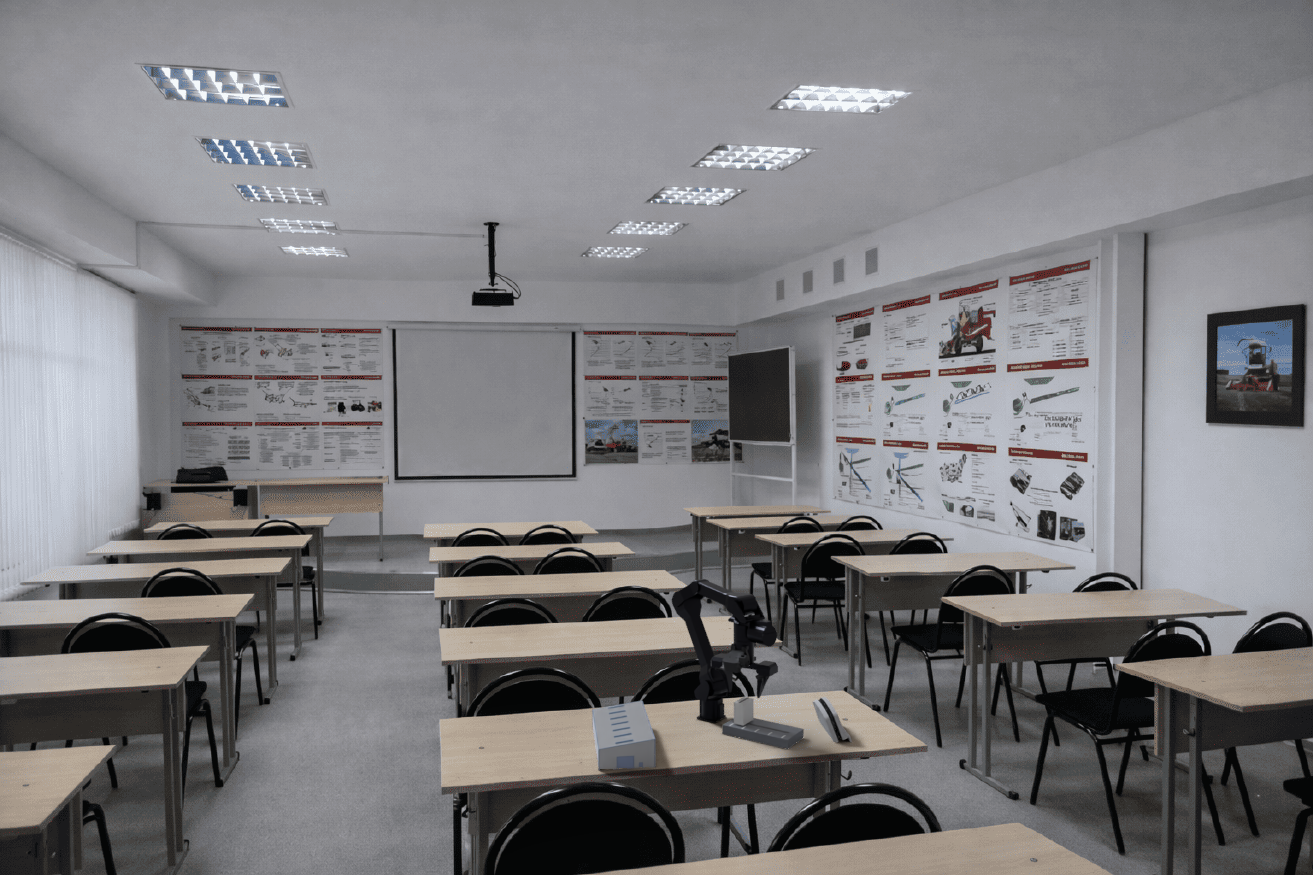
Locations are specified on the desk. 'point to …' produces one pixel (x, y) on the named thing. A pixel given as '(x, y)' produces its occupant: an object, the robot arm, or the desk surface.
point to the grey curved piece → (830, 719)
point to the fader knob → (743, 711)
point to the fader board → (765, 732)
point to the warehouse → (623, 737)
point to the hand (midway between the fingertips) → (744, 694)
